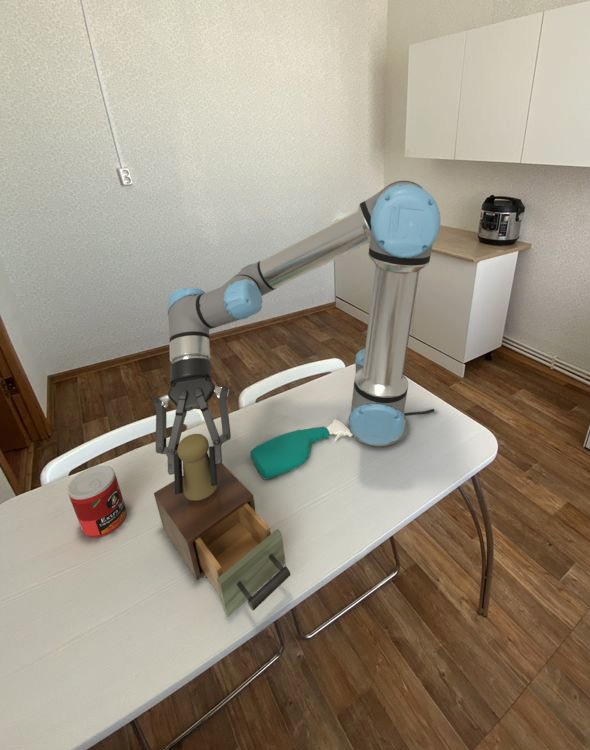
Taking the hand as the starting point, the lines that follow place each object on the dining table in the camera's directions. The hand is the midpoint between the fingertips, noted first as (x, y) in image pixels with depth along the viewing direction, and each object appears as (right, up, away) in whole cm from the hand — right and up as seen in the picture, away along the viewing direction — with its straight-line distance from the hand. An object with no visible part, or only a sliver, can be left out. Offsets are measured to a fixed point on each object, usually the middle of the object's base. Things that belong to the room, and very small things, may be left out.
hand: (196, 489), depth 67 cm
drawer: (+8, -15, 0) cm, 17 cm away
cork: (-1, -2, +5) cm, 5 cm away
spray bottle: (+15, -5, +29) cm, 33 cm away
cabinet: (-1, -13, +8) cm, 15 cm away
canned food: (-23, -12, +11) cm, 28 cm away
